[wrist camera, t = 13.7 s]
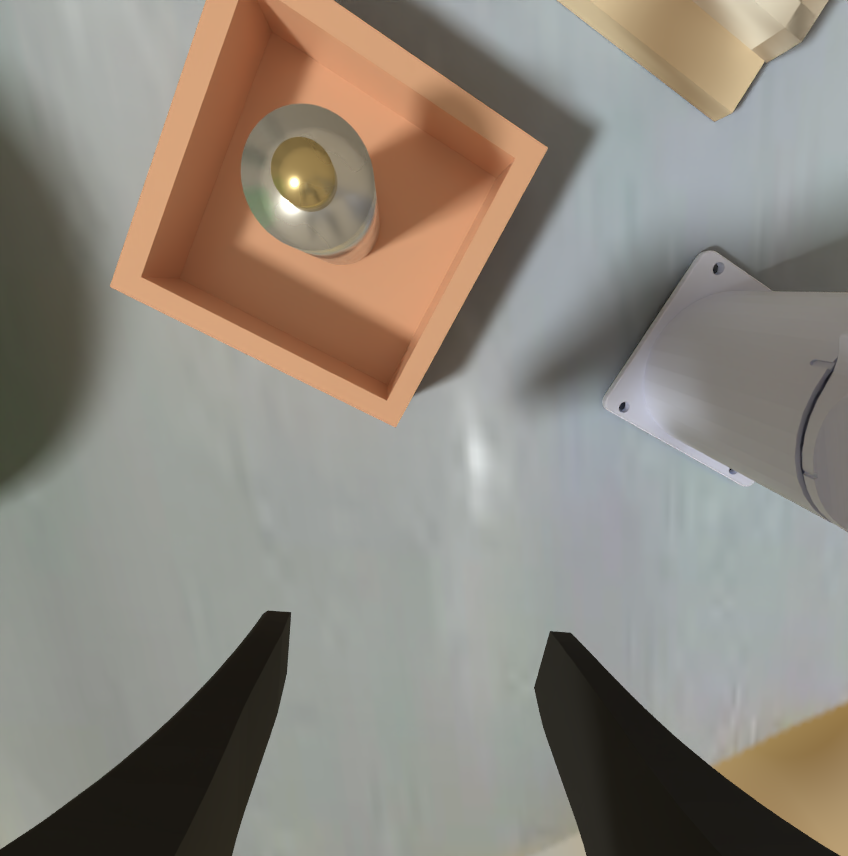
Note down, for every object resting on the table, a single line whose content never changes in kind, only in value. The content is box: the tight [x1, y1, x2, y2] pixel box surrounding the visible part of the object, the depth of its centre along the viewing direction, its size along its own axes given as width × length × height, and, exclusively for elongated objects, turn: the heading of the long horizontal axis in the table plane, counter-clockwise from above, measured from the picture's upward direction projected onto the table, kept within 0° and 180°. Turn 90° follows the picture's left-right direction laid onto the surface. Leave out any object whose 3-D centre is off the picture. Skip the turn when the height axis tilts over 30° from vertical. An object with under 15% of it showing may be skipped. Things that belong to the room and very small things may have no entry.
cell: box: [241, 103, 380, 265], centre depth 14 cm, size 3×3×8 cm
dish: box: [110, 0, 548, 427], centre depth 17 cm, size 11×11×4 cm
